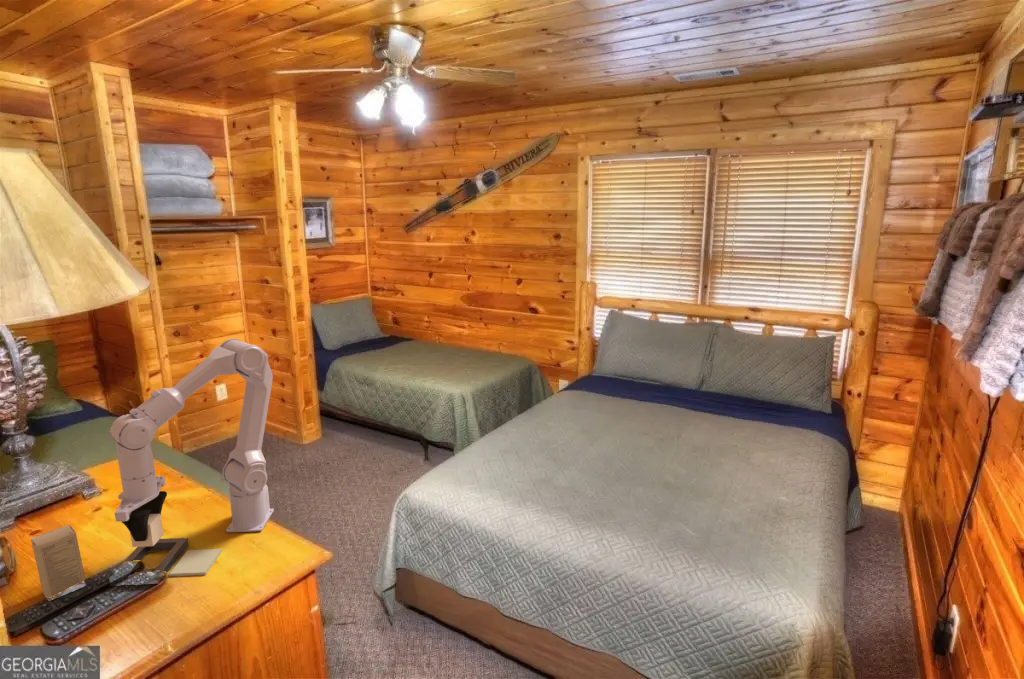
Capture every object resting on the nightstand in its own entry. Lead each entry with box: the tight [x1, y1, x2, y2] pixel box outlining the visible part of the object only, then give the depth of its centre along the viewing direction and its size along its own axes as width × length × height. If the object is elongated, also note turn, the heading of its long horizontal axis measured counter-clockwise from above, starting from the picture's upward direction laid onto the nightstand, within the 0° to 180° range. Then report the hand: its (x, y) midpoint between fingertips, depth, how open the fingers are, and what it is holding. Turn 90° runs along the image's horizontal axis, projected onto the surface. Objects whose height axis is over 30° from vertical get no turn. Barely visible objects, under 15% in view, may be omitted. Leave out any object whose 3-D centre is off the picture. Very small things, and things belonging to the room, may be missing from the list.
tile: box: [168, 548, 223, 577], centre depth 117 cm, size 8×7×1 cm
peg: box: [129, 514, 164, 548], centre depth 114 cm, size 4×4×5 cm
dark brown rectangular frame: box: [124, 537, 190, 578], centre depth 116 cm, size 13×9×2 cm
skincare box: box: [30, 524, 86, 599], centre depth 106 cm, size 6×4×12 cm
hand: (147, 533), depth 114 cm, fingers closed on peg, 4 cm apart
